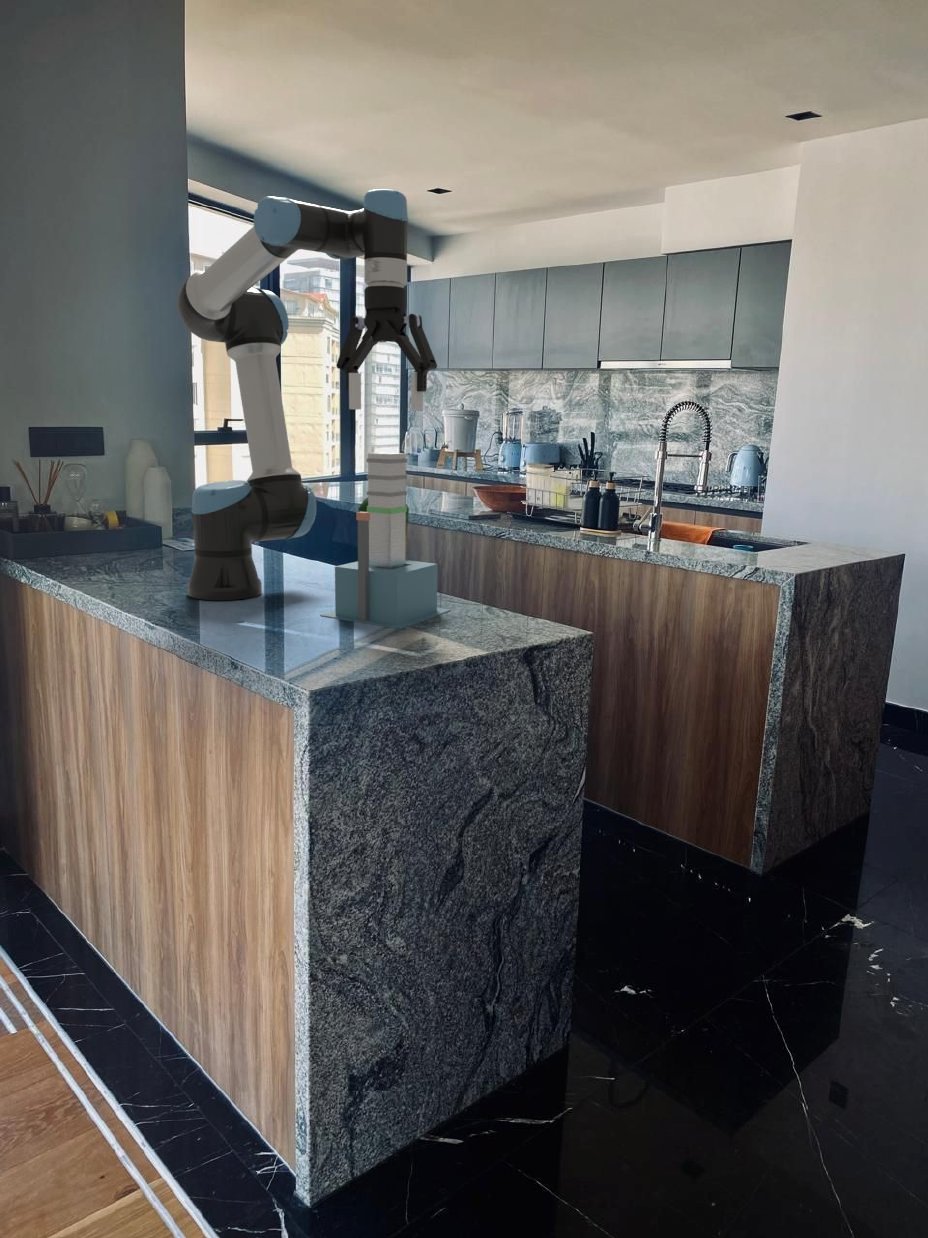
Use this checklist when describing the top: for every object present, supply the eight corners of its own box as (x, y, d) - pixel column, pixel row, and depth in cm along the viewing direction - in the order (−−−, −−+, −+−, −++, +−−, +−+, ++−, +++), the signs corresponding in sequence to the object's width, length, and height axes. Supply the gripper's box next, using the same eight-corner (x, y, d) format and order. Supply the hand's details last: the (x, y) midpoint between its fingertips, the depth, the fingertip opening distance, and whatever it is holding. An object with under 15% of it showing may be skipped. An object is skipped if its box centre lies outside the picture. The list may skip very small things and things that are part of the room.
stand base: (320, 619, 165) (318, 509, 161) (375, 602, 181) (375, 501, 176) (400, 632, 157) (400, 516, 152) (450, 613, 172) (452, 508, 167)
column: (367, 571, 166) (366, 453, 161) (383, 567, 170) (383, 452, 165) (390, 574, 163) (391, 454, 158) (406, 570, 168) (407, 453, 163)
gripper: (316, 287, 158) (318, 408, 163) (435, 280, 146) (433, 411, 151) (341, 292, 164) (342, 408, 169) (457, 286, 152) (454, 411, 157)
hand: (385, 410), depth 160 cm, fingers open, 13 cm apart
